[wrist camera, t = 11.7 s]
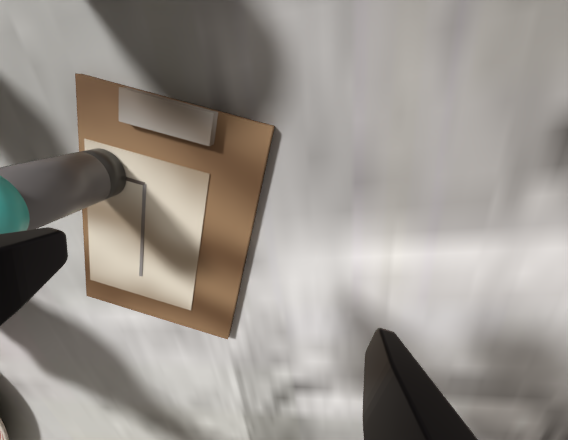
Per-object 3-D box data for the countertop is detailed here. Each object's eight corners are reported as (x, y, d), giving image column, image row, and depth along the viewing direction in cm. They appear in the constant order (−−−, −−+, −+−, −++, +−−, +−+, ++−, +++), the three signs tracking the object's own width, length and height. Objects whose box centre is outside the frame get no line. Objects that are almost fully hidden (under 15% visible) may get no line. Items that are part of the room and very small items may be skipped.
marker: (125, 201, 22) (13, 253, 14) (83, 188, 22) (-48, 233, 15) (126, 155, 20) (2, 188, 13) (81, 142, 20) (-65, 167, 13)
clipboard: (229, 334, 26) (224, 346, 25) (91, 291, 27) (79, 301, 25) (274, 126, 19) (270, 128, 17) (82, 74, 19) (64, 72, 18)
